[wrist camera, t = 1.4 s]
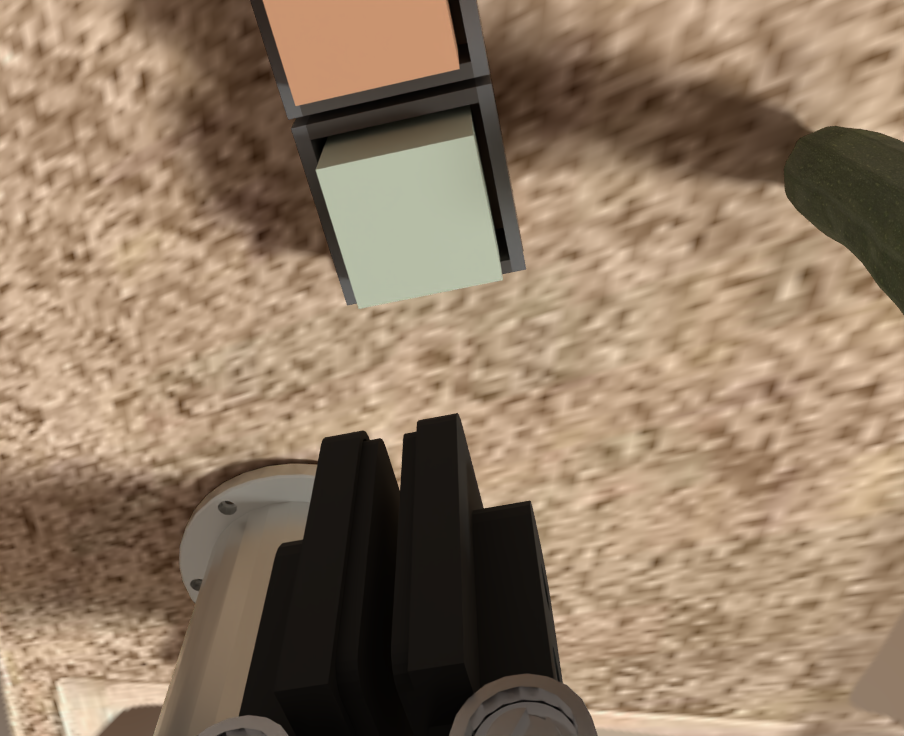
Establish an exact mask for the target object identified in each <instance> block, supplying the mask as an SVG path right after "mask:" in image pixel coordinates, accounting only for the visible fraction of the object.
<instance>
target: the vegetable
mask: <svg viewBox="0 0 904 736" xmlns="http://www.w3.org/2000/svg"><path fill="white" fill-rule="evenodd" d="M784 182H785V192H786V195H787V198H788V199H789V200H790V202H791V203H792V204H793V205H794V207H795V208H796V209H797V210H798V211H799V212H800V213H801V214H802V215H803V216H804V217H805V218H806V219H807V220H809V221H810V222H811V223H812V224H813V225H814V226H815V227H817V228H818V229H819V230H820V231H821V232H823V233H824V234H825V235H827V236H828V237H830V238H832V239H833V240H835V241H837V242H839V243H841V244H842V245H844V246H845V247H846V248H848V249H849V250H850V251H851V252H852V253H853V254H854V255H855V256H856V257H857V258H858V259H859V260H860V261H861V262H862V263H863V265H864V266H865V267H866V269H867V270H868V271H869V273H870V274H871V276H872V277H873V279H874V280H875V281H876V283H877V284H878V286H879V287H880V288H881V289H882V290H883V291H884V292H885V293H886V294H887V295H888V296H889V298H890V299H891V300H892V301H893V302H894V303H895V304H896V305H897V307H898V308H899V309H900V311H901V312H902V313H903V315H904V142H902V141H900V140H898V139H895V138H892V137H890V136H887V135H885V134H881V133H878V132H873V131H868V130H863V129H854V128H844V127H838V126H830V127H825V128H823V129H820V130H818V131H816V132H814V133H811V134H809V135H807V136H804V137H802V138H800V139H799V140H798V141H797V142H796V145H795V147H794V149H793V151H792V153H791V154H790V156H789V157H788V159H787V161H786V164H785V167H784Z"/></svg>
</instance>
